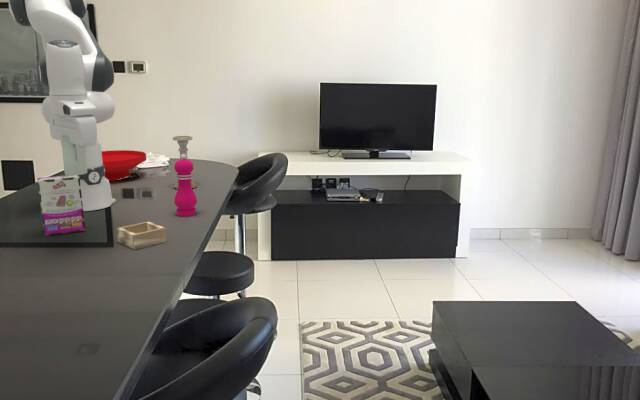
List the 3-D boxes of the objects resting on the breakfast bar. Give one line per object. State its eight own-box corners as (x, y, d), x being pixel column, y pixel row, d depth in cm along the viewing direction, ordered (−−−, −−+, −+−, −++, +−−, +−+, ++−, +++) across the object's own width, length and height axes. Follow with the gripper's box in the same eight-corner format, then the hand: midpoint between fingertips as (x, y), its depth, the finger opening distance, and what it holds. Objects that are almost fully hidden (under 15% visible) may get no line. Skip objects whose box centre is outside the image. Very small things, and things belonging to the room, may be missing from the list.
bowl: (162, 175, 244) (160, 152, 242) (111, 188, 217) (109, 163, 215) (110, 169, 256) (108, 148, 254) (55, 181, 229) (52, 158, 227)
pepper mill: (191, 217, 178) (188, 156, 173) (171, 216, 179) (167, 155, 174) (201, 211, 185) (198, 152, 180) (181, 210, 186) (177, 152, 181)
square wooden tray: (117, 241, 154) (116, 228, 153) (148, 234, 160) (147, 221, 159) (135, 249, 147) (134, 235, 146) (166, 241, 154) (165, 228, 153)
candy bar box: (84, 226, 167) (79, 173, 163) (85, 231, 163) (80, 176, 159) (43, 231, 162) (36, 177, 158) (43, 236, 158) (37, 180, 154)
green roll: (61, 173, 145) (57, 135, 142) (81, 170, 149) (78, 133, 146) (70, 176, 141) (66, 137, 139) (91, 173, 145) (87, 135, 143)
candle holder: (201, 186, 222) (198, 136, 217) (185, 191, 214) (182, 139, 209) (185, 184, 226) (182, 135, 221) (169, 188, 219) (166, 137, 214)
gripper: (40, 104, 145) (46, 156, 149) (74, 109, 132) (79, 166, 135) (64, 103, 150) (69, 153, 153) (99, 108, 136) (104, 163, 140)
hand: (74, 159), depth 144 cm, fingers closed on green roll, 5 cm apart
